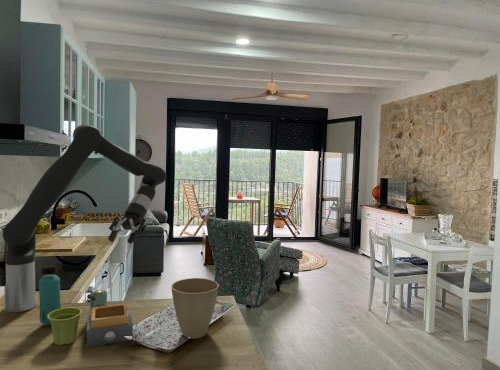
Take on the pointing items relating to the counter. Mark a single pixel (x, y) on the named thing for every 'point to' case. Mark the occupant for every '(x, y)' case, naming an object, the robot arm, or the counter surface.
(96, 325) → the gearbox
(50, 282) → the beverage bottle
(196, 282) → the plant pot
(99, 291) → the spout can
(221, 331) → the counter surface
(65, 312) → the plant pot
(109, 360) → the counter surface
